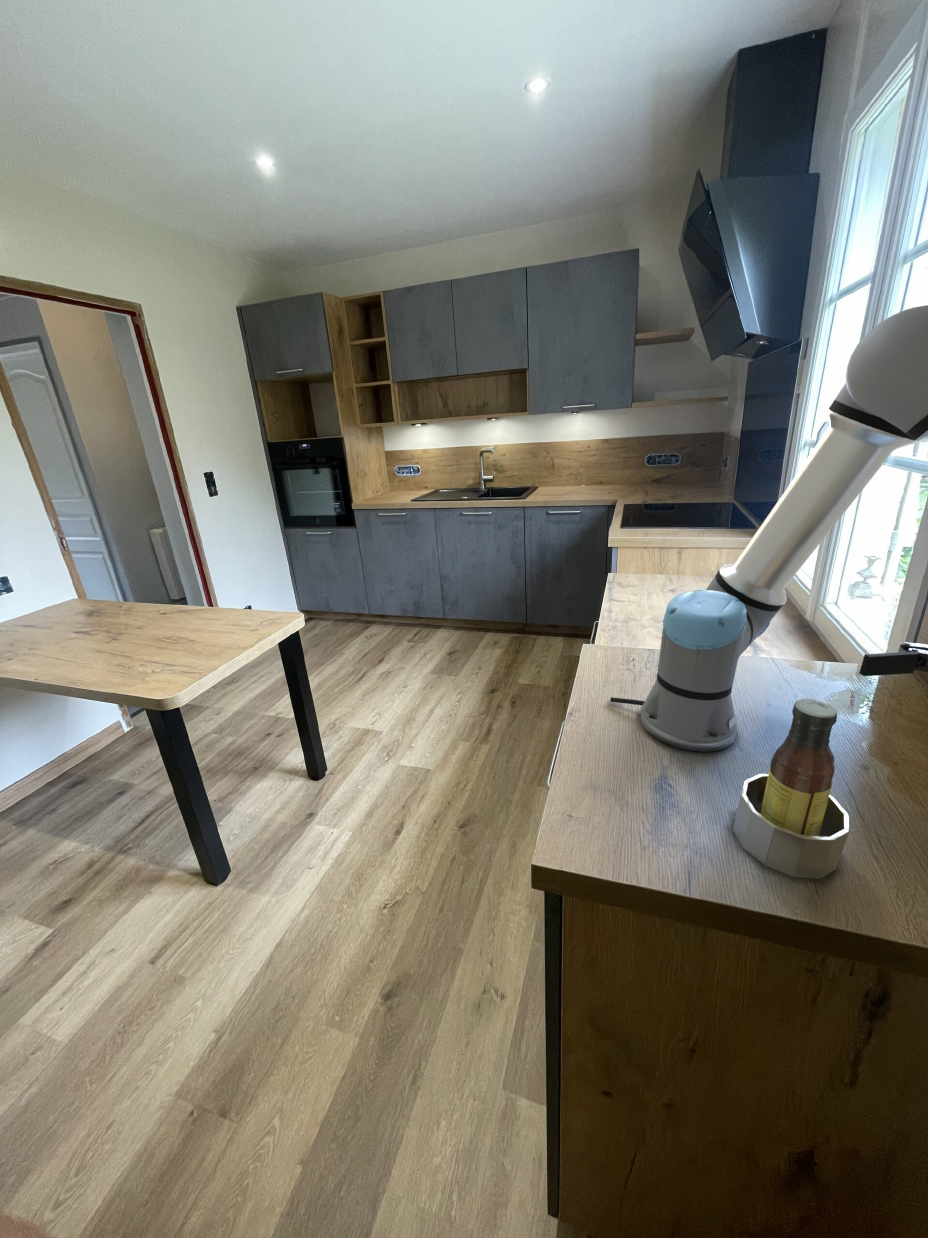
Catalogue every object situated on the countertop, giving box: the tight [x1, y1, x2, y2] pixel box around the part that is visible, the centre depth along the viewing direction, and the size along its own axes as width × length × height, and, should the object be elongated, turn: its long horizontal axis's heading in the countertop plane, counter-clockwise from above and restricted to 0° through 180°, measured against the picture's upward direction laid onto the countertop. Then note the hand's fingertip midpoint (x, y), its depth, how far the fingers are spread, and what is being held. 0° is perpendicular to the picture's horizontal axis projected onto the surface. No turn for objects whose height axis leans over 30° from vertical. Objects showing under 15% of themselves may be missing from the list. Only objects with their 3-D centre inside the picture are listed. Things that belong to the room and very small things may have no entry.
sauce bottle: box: [759, 698, 838, 836], centre depth 58 cm, size 6×6×20 cm
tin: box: [732, 773, 850, 880], centre depth 61 cm, size 11×11×6 cm
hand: (914, 692), depth 54 cm, fingers open, 13 cm apart
